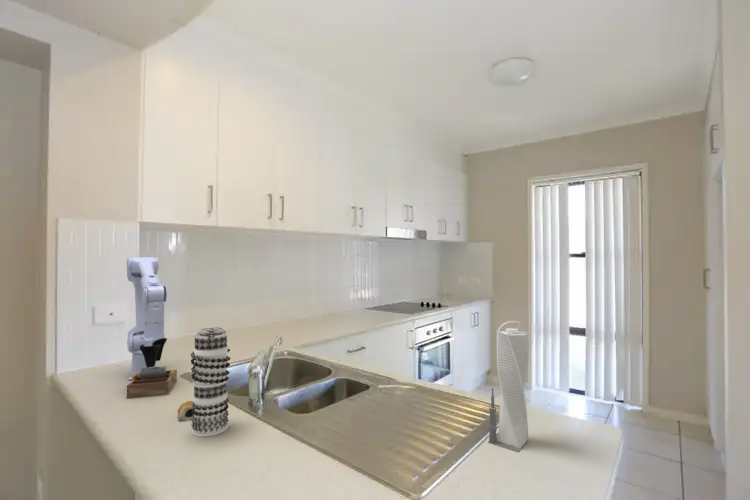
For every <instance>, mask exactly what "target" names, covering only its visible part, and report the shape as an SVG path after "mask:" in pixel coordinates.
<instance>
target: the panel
mask: <svg viewBox="0 0 750 500" xmlns="http://www.w3.org/2000/svg"><path fill="white" fill-rule="evenodd" d="M166 371H167V366H156V367H151V368H142V369H141V380H145V379H157V378H166Z"/></svg>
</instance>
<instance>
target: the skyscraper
mask: <svg viewBox="0 0 750 500" xmlns="http://www.w3.org/2000/svg"><path fill="white" fill-rule="evenodd" d="M513 323H514V324H515V323H516V324H517V326H516V327H515V328H512V327H508V328H505V330H501V329H502V328H503V326H505V325H508V324H513ZM520 326H521V322H520V321H518V320H508V321H505V322H503V323H502V324H501V325H500V326H499V327H498V328H497V329H496V365H497V366H496V370H497V376H498V383H499V387H500V397H499V398H500V401H499V411H498V412H499V414H498V426H497V418H496V414H497V407H496V406H495V396H494V388H491V396H490V406H489V407H488V408H489V426H488V428H489V439H488V441H487V444H491V445H493V446H497V447H499V448H503V449H506V450H510V451H512V452H515V453H519V452H521V450H522V449H523V448H524V447H525V445H526V444H527V443H528V442H529V426H528V425H529V424H528V423H529V422H528V411H527V401H526V394H525V386H526V385H525V384H526V380H527V376H528V370H529V368H528V367H529V358H530V357H529V353H530V352H529V351H530V350H529V349H530V348H529V347H530V346H529V345H530V344H529V343H530V341H529V332H528V331H524V330H523V331H521V330H519V329H520ZM497 429H498V432H497Z"/></svg>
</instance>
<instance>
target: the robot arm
mask: <svg viewBox="0 0 750 500" xmlns="http://www.w3.org/2000/svg"><path fill="white" fill-rule="evenodd" d="M159 262H160V261H159V258H158V257H156V256H153V257H150V256H148V257H143V256H141V257H138V256H137V257H133V256H132V257H131V256H129V257H128V258H127V260H126V277H127V281H129V282H131V283H132V284H133V288H134V299H135V301H134V302H135V303H134V304H135V305H134V306H135V323H136V325H135V326H134V327H132V328H131V329H129V331H128V333H127V340H126V342H127V343H126V344H127V345H126V346H127V352H129V353H130V354H131V375H130V376H129V377H128V378H127V380H128V381H132V376H133V375H134V374H137V373H138V374H139V373H141V369H142V368H151V367H157V362H159V361H161V359H162V354H163V349H164V347H165V344H166V342H167V341H168V338H166V337H165V335H166V334H165V303H166V302H167V298H168V292H167V286H166V285H165V284H162V282H161V279H160V277H159V276H158V272H159V268H160V267H159V266H160V263H159Z"/></svg>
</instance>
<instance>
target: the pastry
mask: <svg viewBox="0 0 750 500" xmlns="http://www.w3.org/2000/svg"><path fill="white" fill-rule="evenodd" d="M192 403H193V400H189V401H186V402H184V403H182V404H180V406H179V408H178V410H177V419H178V421H180V422H186V421H192V419H191V418H192V416H193V415H194V414H192V409H194V408H193V407H192Z"/></svg>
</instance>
